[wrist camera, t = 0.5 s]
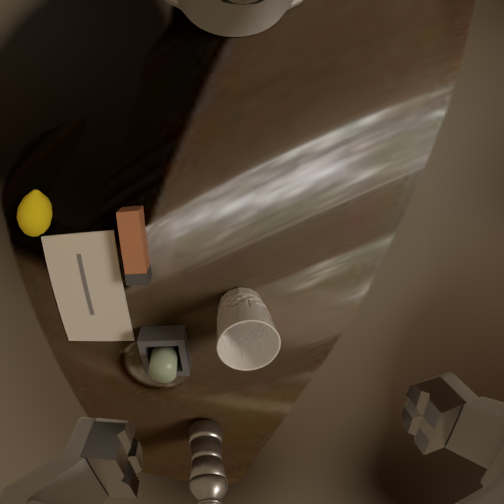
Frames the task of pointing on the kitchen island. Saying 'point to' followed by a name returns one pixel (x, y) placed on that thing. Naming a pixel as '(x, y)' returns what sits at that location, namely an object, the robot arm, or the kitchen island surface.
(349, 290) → the kitchen island surface
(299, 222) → the kitchen island surface
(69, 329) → the paper
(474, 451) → the robot arm
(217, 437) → the plastic bottle
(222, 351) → the white cup
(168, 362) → the button
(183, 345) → the button housing
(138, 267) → the block
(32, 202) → the lemon
